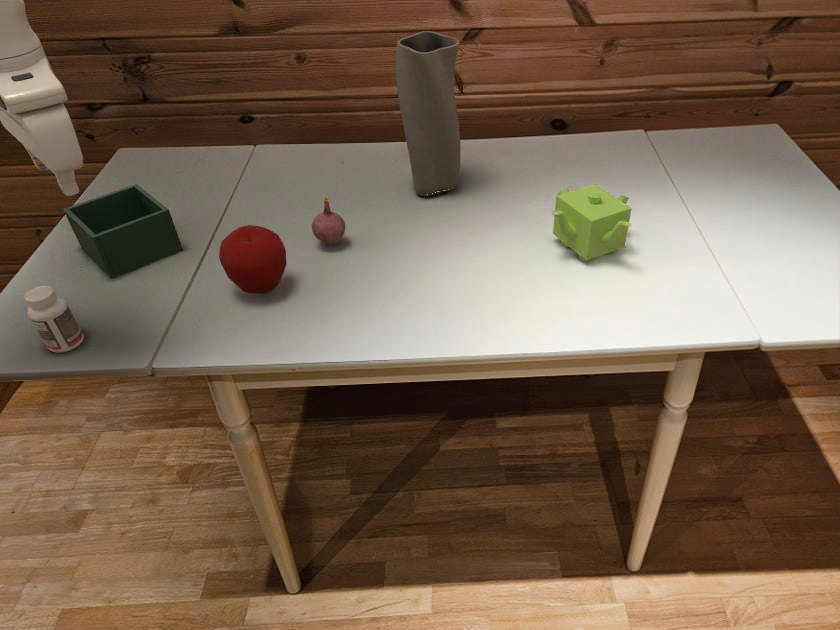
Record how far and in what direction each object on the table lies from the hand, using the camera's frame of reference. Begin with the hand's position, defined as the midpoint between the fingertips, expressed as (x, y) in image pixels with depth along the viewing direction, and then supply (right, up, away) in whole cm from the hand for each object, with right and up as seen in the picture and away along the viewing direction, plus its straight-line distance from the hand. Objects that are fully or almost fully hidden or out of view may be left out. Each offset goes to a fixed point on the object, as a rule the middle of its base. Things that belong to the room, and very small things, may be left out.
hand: (58, 180), depth 88 cm
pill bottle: (-9, -22, +16) cm, 29 cm away
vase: (+47, +13, +54) cm, 73 cm away
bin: (-9, -3, +36) cm, 37 cm away
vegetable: (+28, -2, +38) cm, 47 cm away
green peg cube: (+77, -3, +37) cm, 86 cm away
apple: (+18, -12, +27) cm, 35 cm away
